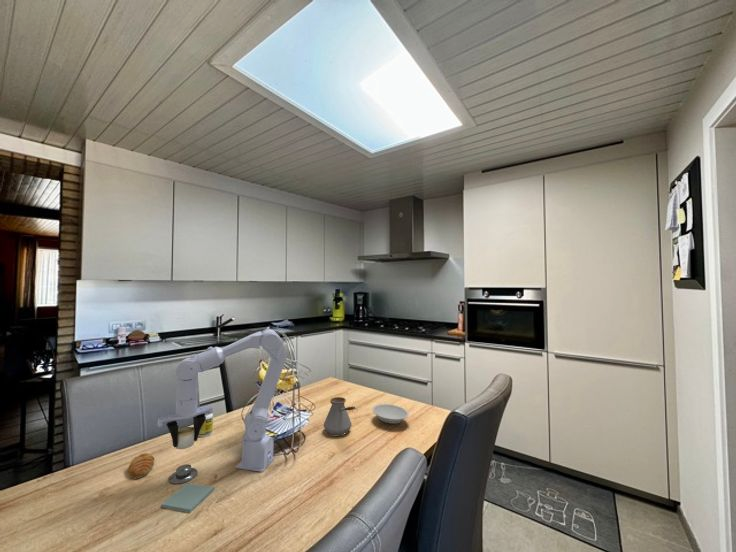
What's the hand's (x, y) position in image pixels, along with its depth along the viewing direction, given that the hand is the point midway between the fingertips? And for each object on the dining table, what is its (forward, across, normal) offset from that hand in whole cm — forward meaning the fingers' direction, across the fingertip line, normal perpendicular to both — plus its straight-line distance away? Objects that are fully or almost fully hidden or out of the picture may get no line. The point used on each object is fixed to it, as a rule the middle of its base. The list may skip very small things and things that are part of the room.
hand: (185, 442), depth 93 cm
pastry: (+11, +9, -13) cm, 19 cm away
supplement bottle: (+11, -13, -26) cm, 31 cm away
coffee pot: (+11, -52, +13) cm, 55 cm away
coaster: (+10, +1, +11) cm, 15 cm away
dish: (+11, -76, +17) cm, 79 cm away
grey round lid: (+10, 0, -1) cm, 10 cm away
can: (+1, 0, 0) cm, 1 cm away
